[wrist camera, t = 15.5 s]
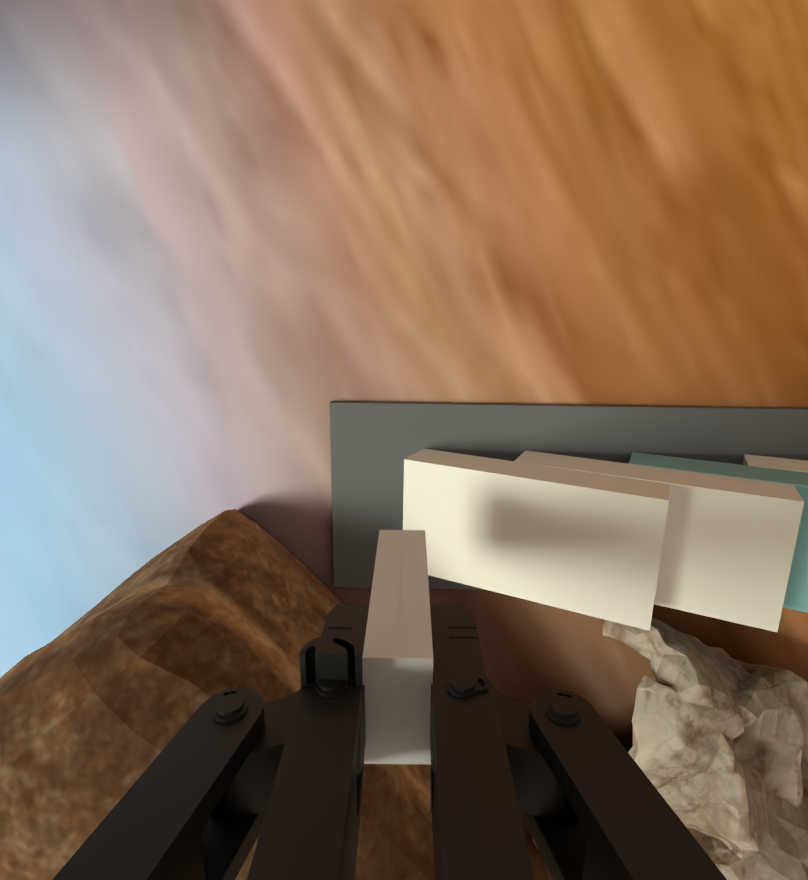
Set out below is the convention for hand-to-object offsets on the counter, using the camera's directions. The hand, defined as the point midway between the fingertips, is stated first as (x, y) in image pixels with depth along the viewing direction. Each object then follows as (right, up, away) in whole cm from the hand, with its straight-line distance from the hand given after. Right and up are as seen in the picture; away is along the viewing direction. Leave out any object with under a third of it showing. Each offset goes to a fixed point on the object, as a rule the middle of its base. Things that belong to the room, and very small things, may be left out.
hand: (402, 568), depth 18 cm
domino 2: (+5, +1, +6) cm, 8 cm away
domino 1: (0, +1, +6) cm, 6 cm away
